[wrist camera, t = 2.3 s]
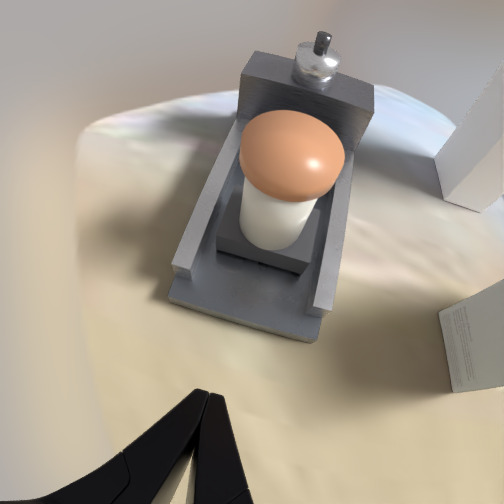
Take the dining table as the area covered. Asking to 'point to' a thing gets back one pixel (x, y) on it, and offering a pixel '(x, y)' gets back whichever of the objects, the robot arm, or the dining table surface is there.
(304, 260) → the knob
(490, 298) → the supplement box
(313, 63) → the potentiometer
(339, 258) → the mount
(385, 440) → the dining table surface
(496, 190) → the milk
